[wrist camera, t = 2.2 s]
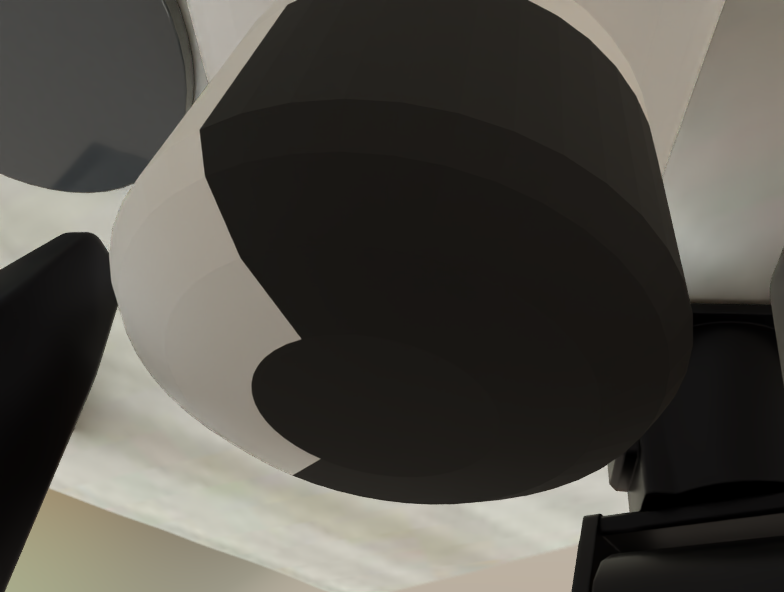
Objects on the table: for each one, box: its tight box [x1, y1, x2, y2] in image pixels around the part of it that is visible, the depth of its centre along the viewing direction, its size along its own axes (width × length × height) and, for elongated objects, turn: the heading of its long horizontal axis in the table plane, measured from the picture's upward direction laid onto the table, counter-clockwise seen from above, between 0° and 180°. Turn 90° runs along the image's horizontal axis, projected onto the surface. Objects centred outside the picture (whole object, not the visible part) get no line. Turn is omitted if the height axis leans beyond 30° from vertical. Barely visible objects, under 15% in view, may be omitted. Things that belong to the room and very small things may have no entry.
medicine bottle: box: [109, 0, 725, 504], centre depth 10 cm, size 7×7×12 cm
